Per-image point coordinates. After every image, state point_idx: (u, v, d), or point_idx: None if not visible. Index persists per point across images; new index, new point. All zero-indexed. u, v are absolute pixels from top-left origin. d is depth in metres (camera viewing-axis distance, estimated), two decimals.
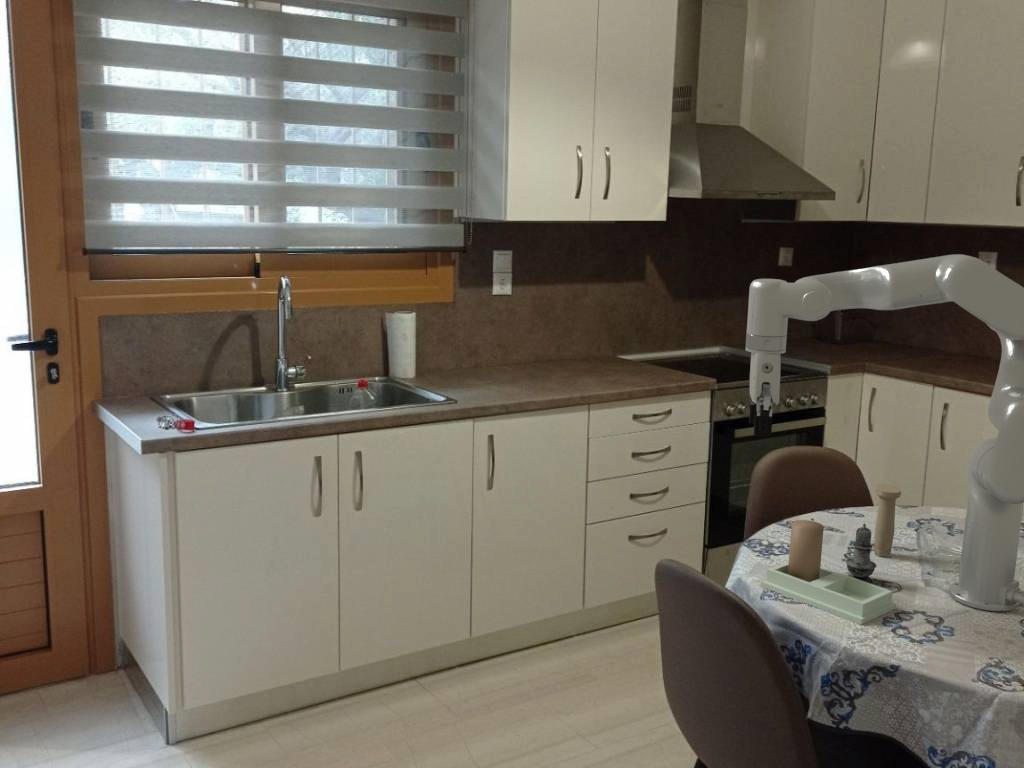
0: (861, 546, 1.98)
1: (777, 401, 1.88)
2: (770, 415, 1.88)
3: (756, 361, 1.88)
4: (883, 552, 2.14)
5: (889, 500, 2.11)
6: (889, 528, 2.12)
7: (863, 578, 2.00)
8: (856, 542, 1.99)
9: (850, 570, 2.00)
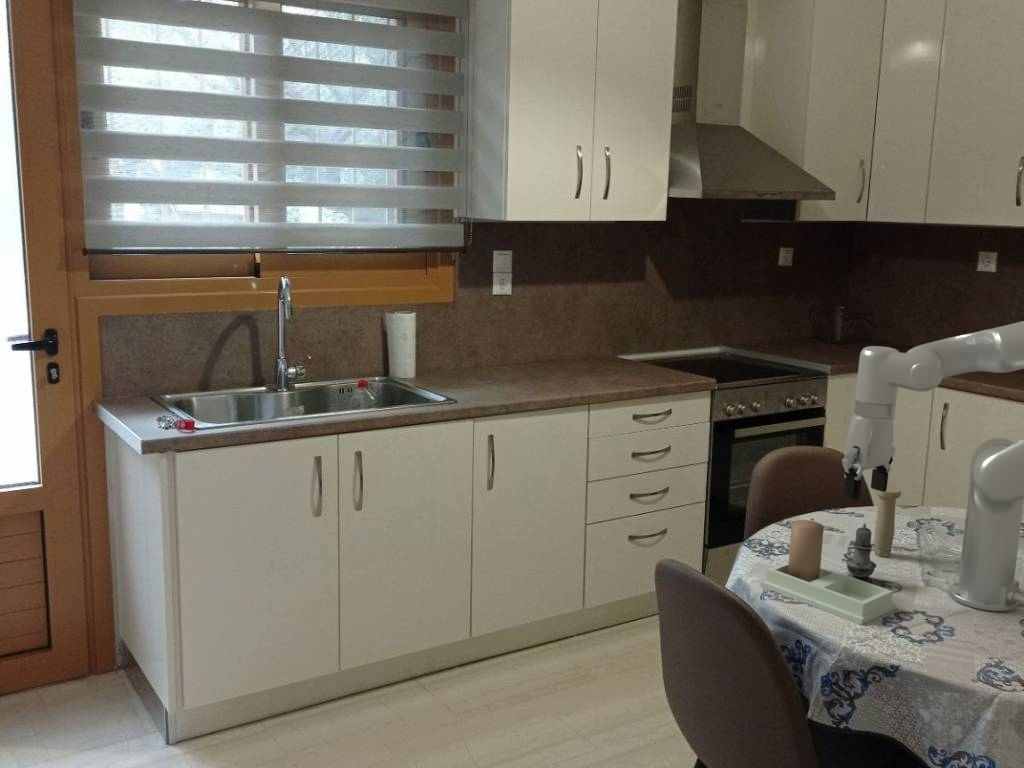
0: (861, 546, 1.98)
1: None
2: None
3: (892, 424, 1.96)
4: (883, 552, 2.14)
5: (889, 500, 2.11)
6: (889, 528, 2.12)
7: (863, 578, 2.00)
8: (856, 542, 1.99)
9: (850, 570, 2.00)
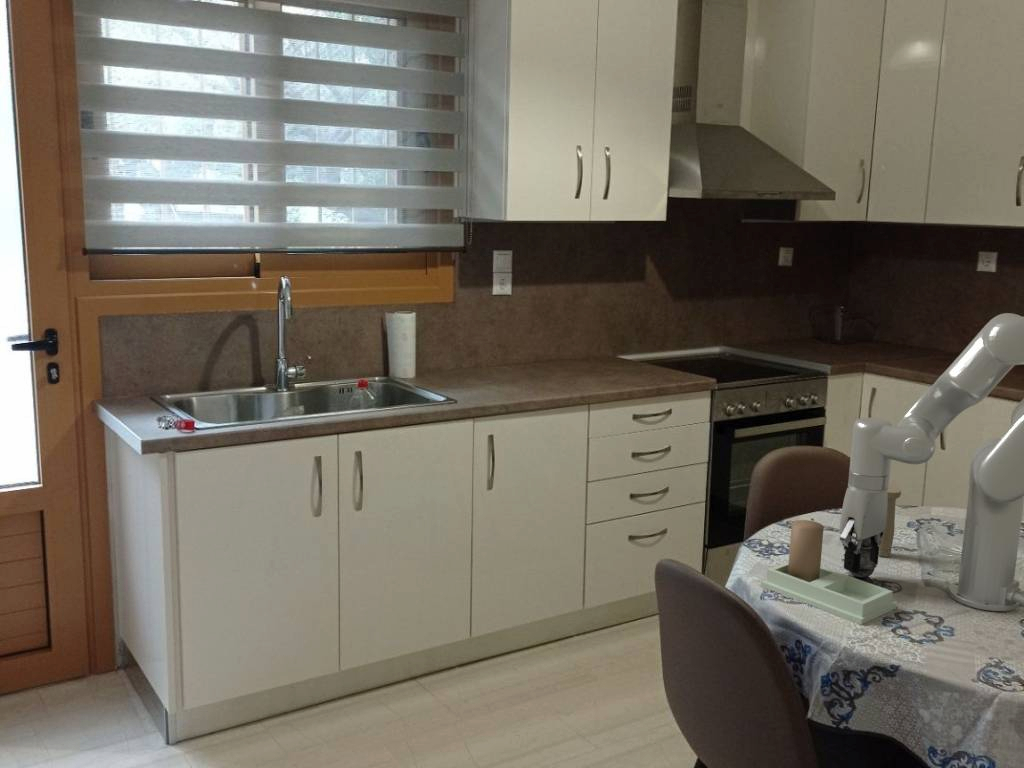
0: (861, 546, 1.98)
1: None
2: None
3: None
4: (883, 552, 2.14)
5: (889, 500, 2.11)
6: (889, 528, 2.12)
7: (863, 578, 2.00)
8: None
9: None
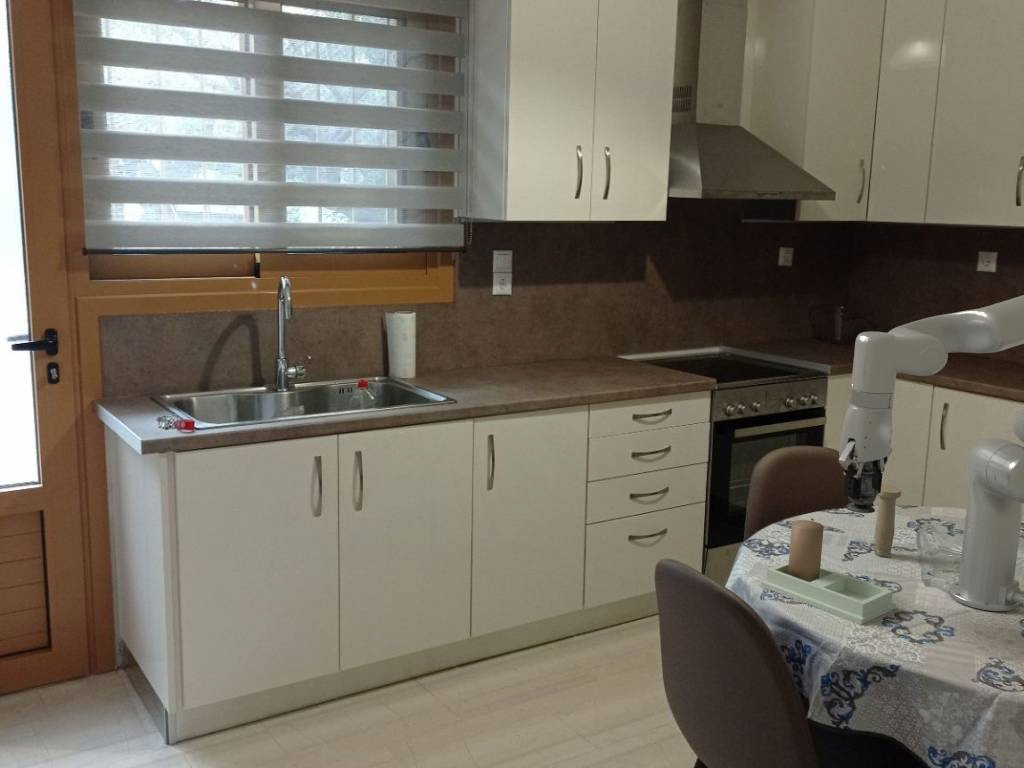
0: (862, 471, 1.83)
1: None
2: None
3: (891, 414, 1.83)
4: (883, 552, 2.14)
5: (889, 500, 2.11)
6: (889, 528, 2.12)
7: (864, 506, 1.85)
8: None
9: None
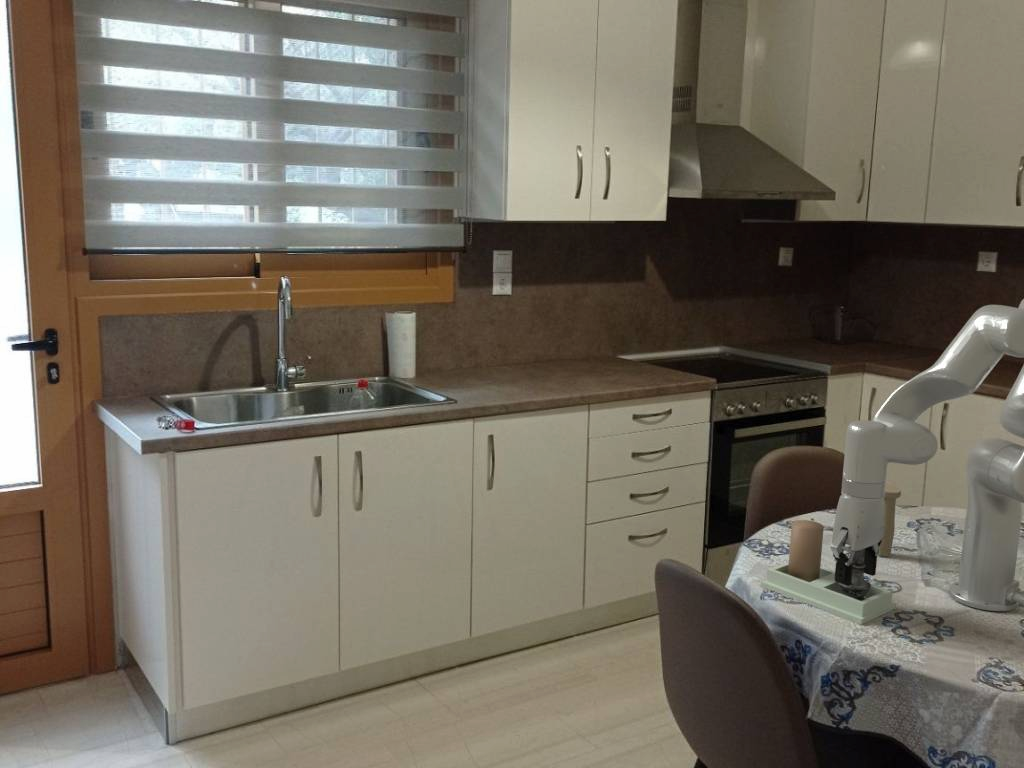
0: (854, 565, 1.85)
1: None
2: None
3: (883, 501, 1.85)
4: (883, 552, 2.14)
5: (889, 500, 2.11)
6: (889, 528, 2.12)
7: (857, 599, 1.87)
8: None
9: (843, 591, 1.86)
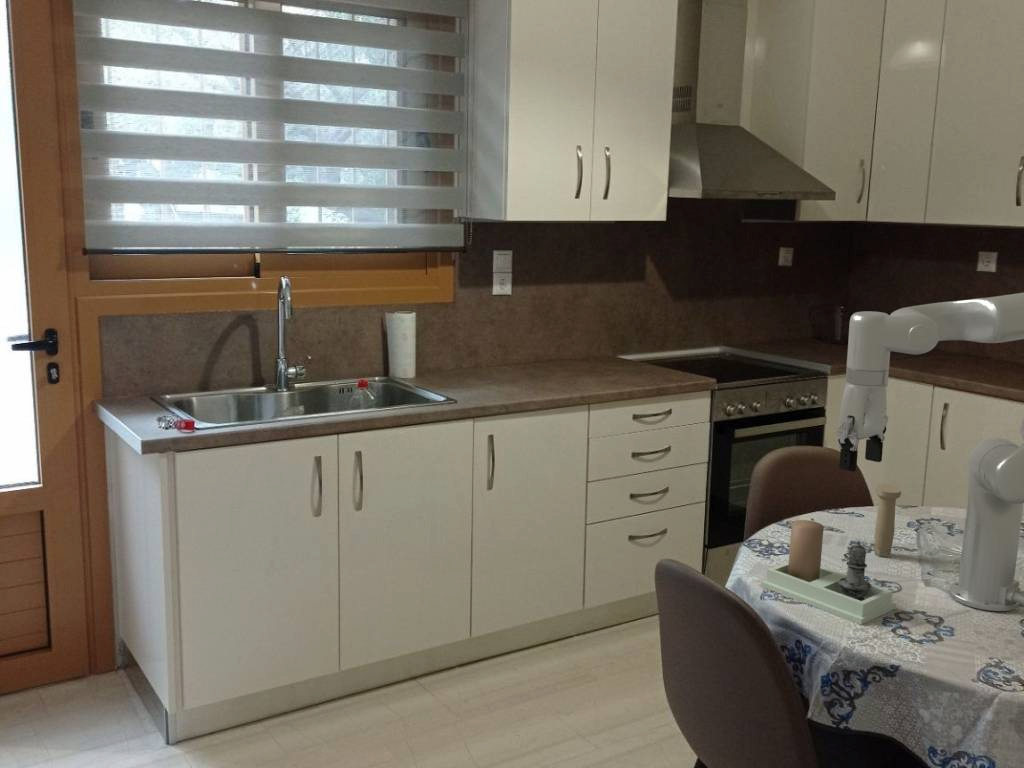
0: (855, 565, 1.85)
1: None
2: None
3: (885, 391, 1.89)
4: (883, 552, 2.14)
5: (889, 500, 2.11)
6: (889, 528, 2.12)
7: (857, 599, 1.87)
8: (850, 561, 1.86)
9: (843, 591, 1.86)
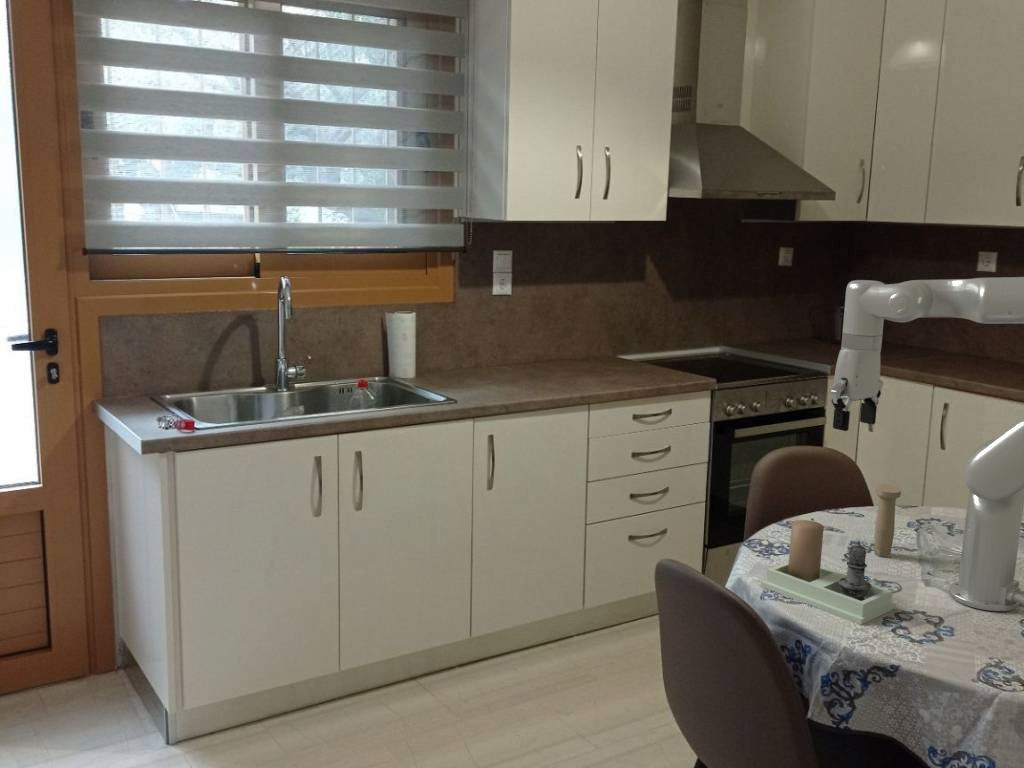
0: (855, 565, 1.85)
1: None
2: None
3: None
4: (883, 552, 2.14)
5: (889, 500, 2.11)
6: (889, 528, 2.12)
7: (857, 599, 1.87)
8: (850, 561, 1.86)
9: (843, 591, 1.86)
